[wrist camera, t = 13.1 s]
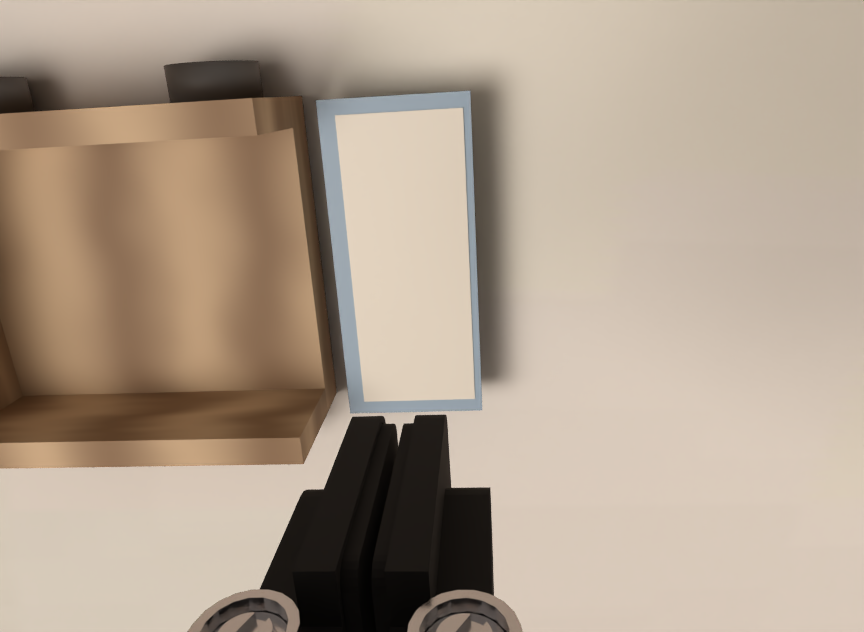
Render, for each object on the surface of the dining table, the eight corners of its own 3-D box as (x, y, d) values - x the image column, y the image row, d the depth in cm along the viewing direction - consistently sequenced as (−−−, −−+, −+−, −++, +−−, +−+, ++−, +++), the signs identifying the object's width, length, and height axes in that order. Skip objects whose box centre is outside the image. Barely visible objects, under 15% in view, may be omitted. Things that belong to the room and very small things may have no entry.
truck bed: (297, 60, 27) (228, 50, 20) (339, 418, 33) (298, 516, 25) (-58, 84, 29) (-250, 83, 21) (39, 424, 34) (-86, 519, 27)
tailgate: (322, 99, 26) (470, 90, 26) (355, 401, 31) (481, 398, 30) (315, 100, 25) (470, 90, 25) (350, 414, 30) (482, 410, 29)
